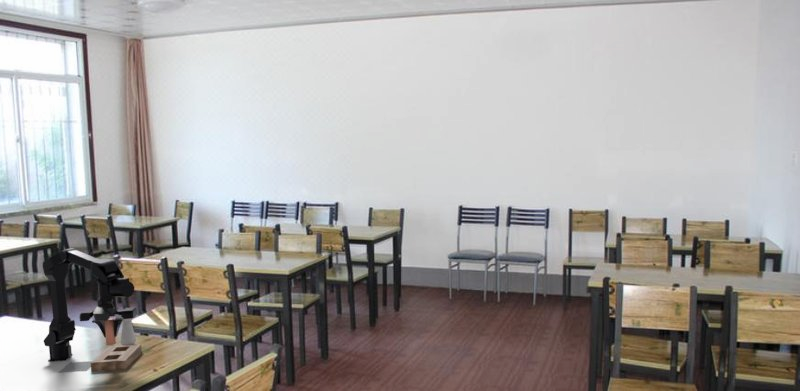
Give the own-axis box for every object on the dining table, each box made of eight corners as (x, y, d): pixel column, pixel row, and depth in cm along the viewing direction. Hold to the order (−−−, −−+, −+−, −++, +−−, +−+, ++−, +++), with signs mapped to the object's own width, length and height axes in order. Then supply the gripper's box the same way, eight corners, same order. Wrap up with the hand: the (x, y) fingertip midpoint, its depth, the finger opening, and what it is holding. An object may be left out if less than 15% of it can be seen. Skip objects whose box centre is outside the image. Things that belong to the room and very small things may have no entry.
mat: (57, 373, 221) (57, 372, 221) (69, 363, 231) (69, 362, 231) (86, 371, 222) (86, 370, 222) (97, 361, 232) (97, 360, 232)
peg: (104, 345, 224) (103, 321, 223) (108, 342, 227) (106, 318, 226) (114, 344, 224) (112, 320, 223) (117, 341, 227) (115, 318, 227)
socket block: (91, 372, 222) (90, 362, 221) (110, 354, 239) (109, 346, 239) (125, 369, 223) (125, 360, 222) (141, 352, 240) (141, 344, 240)
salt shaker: (130, 349, 245) (127, 317, 244) (117, 348, 246) (115, 317, 245) (139, 344, 251) (137, 313, 250) (126, 343, 252) (124, 312, 251)
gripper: (71, 302, 215) (74, 345, 217) (126, 299, 217) (129, 342, 218) (84, 294, 226) (87, 335, 228) (136, 291, 228) (139, 332, 229)
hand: (110, 337), depth 225 cm, fingers closed on peg, 3 cm apart
